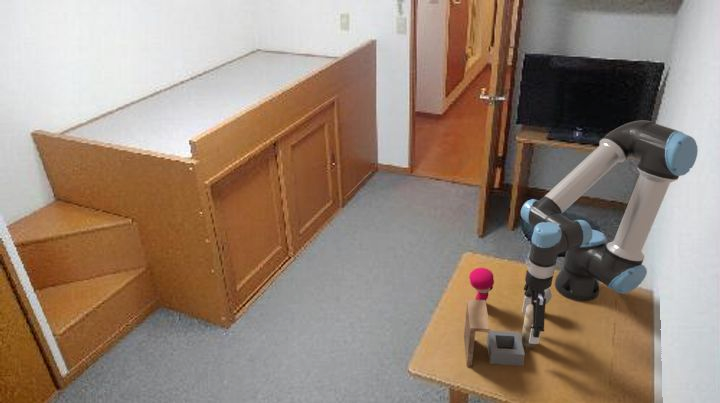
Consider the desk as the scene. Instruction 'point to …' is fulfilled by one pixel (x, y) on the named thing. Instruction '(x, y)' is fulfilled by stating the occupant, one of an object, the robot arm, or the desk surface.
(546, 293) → the lightbulb
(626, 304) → the desk surface
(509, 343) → the socket
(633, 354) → the desk surface
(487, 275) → the toy
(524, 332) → the peg
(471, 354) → the wooden lipped block
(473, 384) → the desk surface
